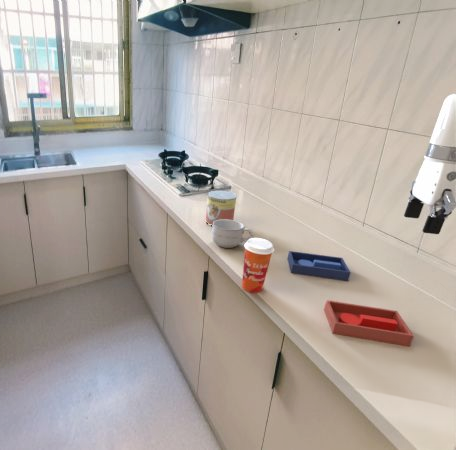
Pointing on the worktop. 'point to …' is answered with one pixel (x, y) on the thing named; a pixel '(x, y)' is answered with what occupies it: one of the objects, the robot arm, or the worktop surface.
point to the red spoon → (369, 321)
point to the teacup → (229, 233)
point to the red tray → (395, 337)
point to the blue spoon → (321, 264)
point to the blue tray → (317, 271)
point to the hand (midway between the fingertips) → (420, 224)
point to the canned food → (220, 205)
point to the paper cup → (256, 263)
